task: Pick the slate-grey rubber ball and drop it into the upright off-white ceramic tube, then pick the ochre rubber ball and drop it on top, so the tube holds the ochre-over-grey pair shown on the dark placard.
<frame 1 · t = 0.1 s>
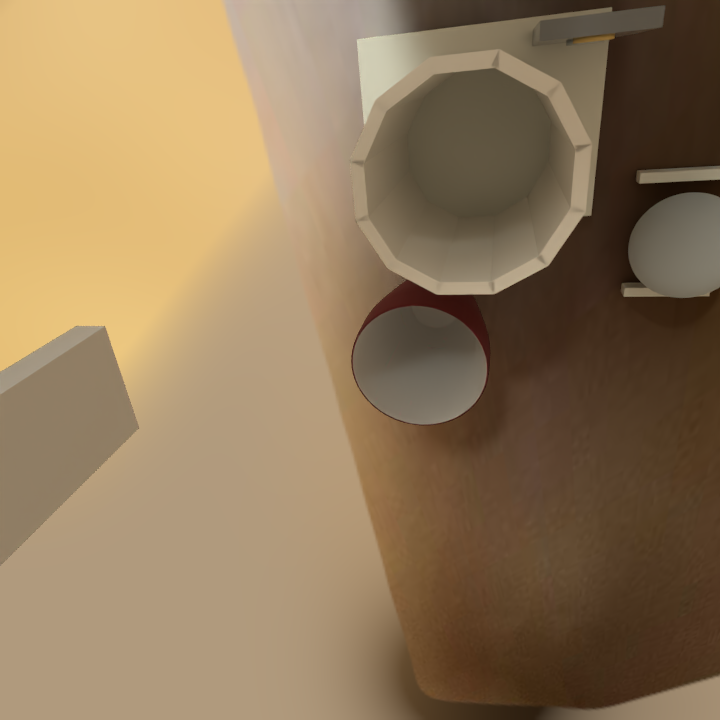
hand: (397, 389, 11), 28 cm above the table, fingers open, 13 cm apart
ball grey: (671, 232, 34), on the table
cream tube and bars: (477, 128, 34), on the table
mug: (435, 317, 41), on the table
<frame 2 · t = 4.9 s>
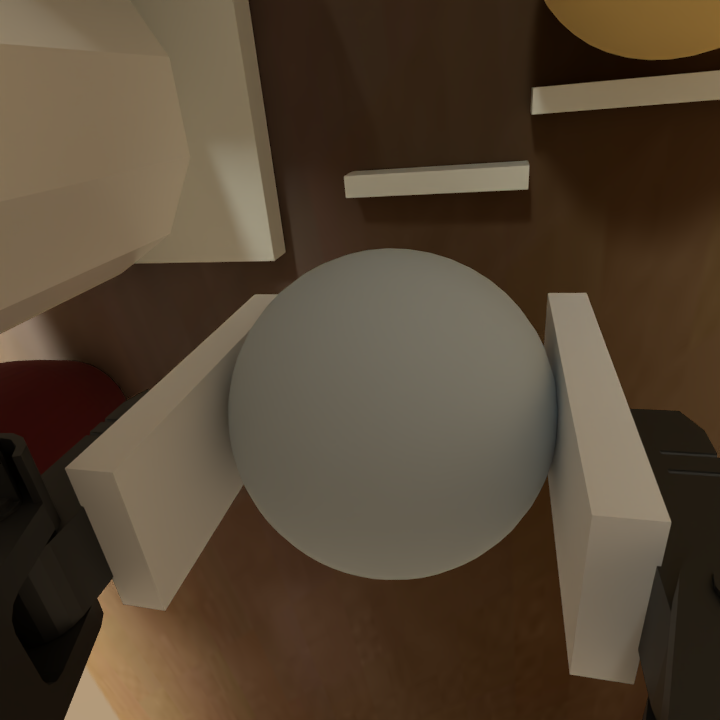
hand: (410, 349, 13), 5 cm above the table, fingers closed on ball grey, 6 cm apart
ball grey: (412, 340, 13), point 5 cm above the table, touching gripper
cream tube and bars: (53, 86, 17), on the table
mug: (99, 423, 24), on the table
when the fingers open (15 cm above the table, at t = 6.9 s): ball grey drops 14 cm, resting on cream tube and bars.
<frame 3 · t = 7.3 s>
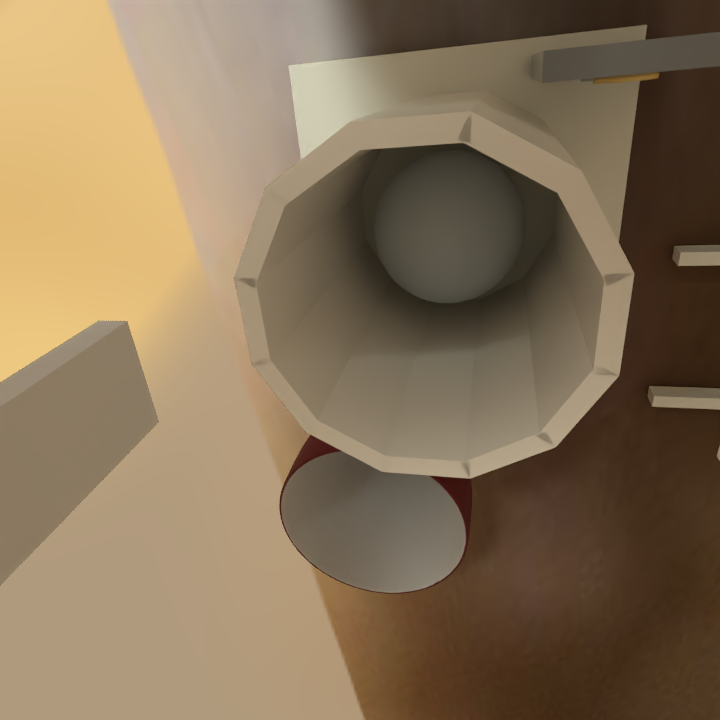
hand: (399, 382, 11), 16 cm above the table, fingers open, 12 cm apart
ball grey: (454, 211, 24), point 1 cm above the table, touching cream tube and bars
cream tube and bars: (456, 185, 25), on the table
mug: (407, 415, 32), on the table
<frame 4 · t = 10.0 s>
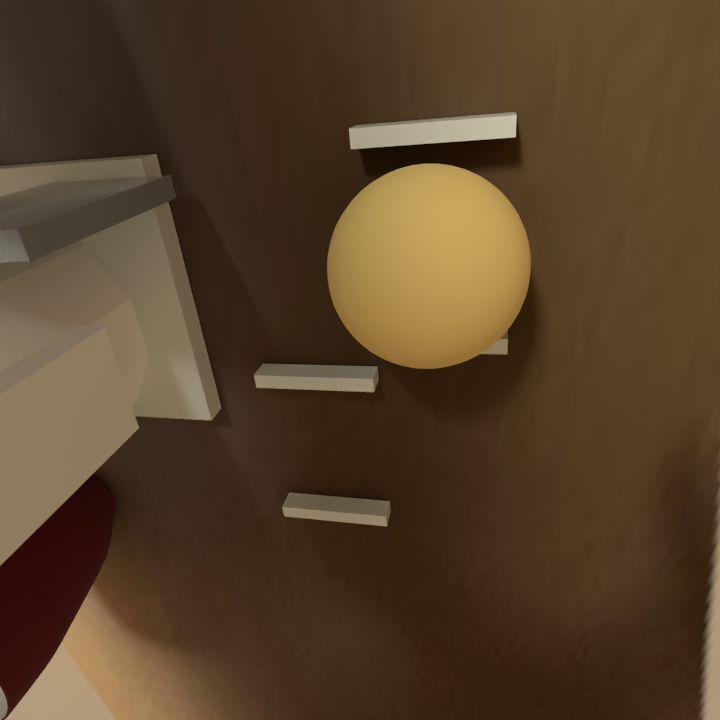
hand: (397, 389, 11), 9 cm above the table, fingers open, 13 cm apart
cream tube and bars: (50, 296, 24), on the table
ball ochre: (436, 240, 19), on the table
mug: (92, 508, 31), on the table
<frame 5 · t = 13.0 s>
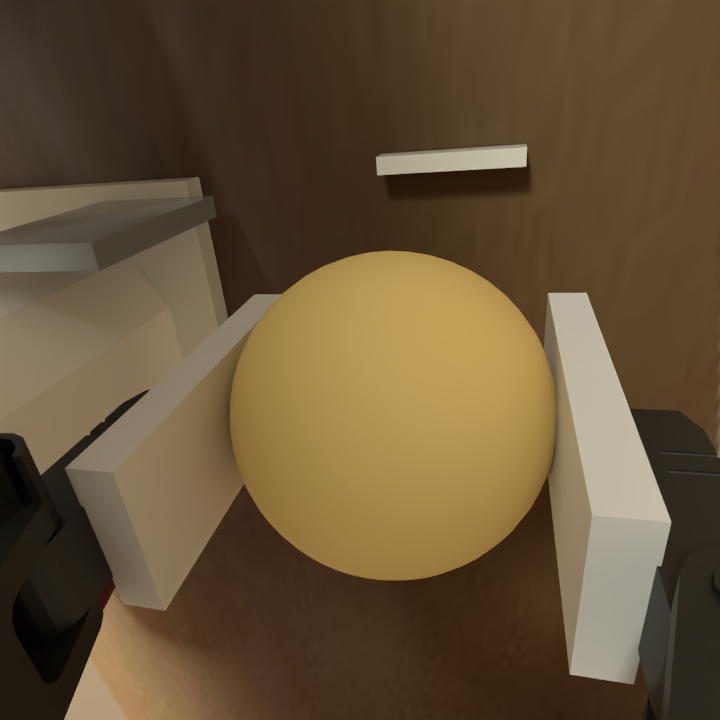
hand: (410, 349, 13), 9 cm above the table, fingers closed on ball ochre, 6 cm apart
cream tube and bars: (92, 305, 26), on the table
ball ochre: (413, 342, 13), point 9 cm above the table, touching gripper
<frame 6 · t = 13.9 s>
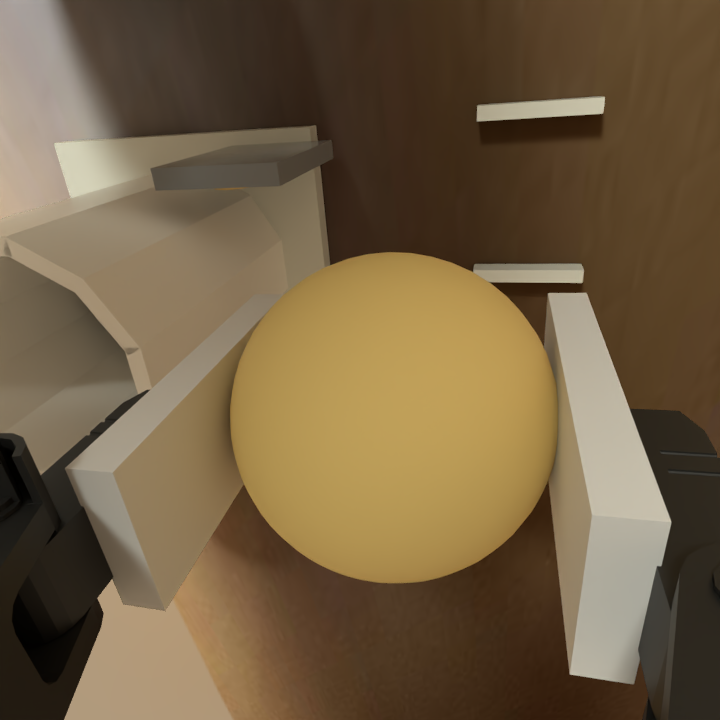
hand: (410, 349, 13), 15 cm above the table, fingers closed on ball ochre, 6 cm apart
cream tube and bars: (206, 241, 30), on the table
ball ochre: (414, 344, 13), point 15 cm above the table, touching gripper
when the fingers open (15 cm above the table, at t = 15.1 s): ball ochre drops 8 cm and tips over, resting on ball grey, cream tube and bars.
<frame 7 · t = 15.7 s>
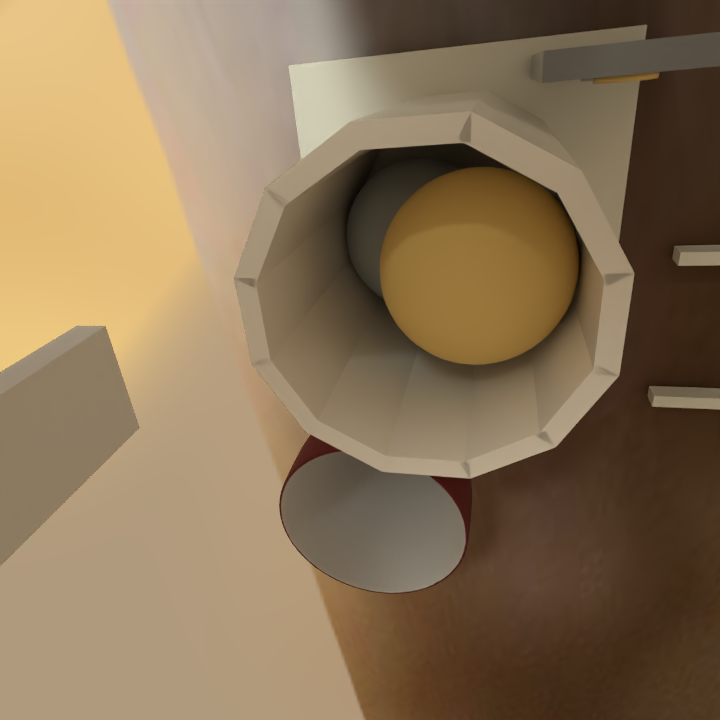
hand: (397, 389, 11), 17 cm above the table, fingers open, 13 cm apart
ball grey: (453, 213, 24), point 1 cm above the table, tilted 24°, touching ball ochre, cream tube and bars
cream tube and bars: (456, 184, 25), on the table
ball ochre: (434, 252, 19), point 7 cm above the table, tilted 32°, touching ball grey, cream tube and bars
mug: (407, 415, 32), on the table
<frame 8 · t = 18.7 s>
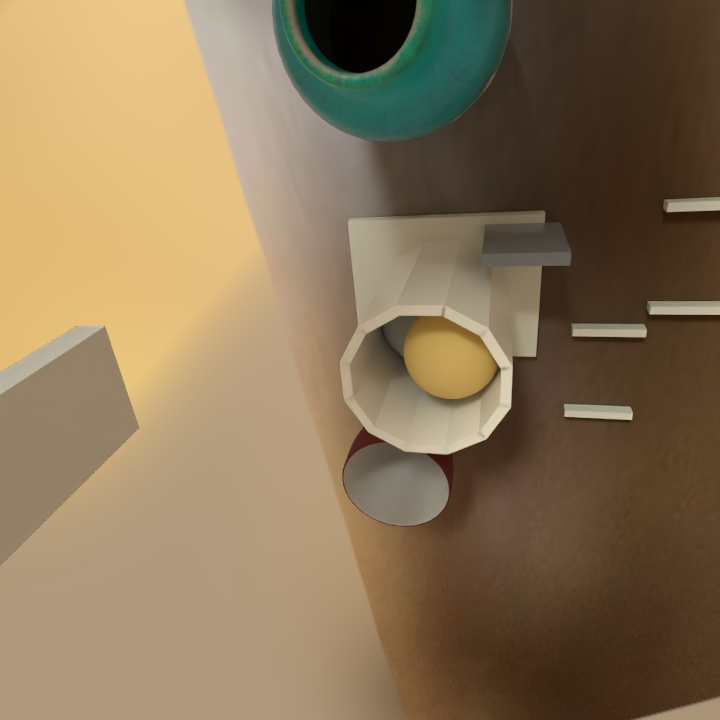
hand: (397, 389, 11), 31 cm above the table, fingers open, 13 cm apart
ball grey: (442, 303, 41), point 1 cm above the table, tilted 24°, touching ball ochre, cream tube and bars
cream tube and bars: (444, 285, 42), on the table
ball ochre: (431, 336, 36), point 7 cm above the table, tilted 32°, touching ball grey, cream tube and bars
vase: (424, 33, 34), on the table
mug: (414, 421, 49), on the table
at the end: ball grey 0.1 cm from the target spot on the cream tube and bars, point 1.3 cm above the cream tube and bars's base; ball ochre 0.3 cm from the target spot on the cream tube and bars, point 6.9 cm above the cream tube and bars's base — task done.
